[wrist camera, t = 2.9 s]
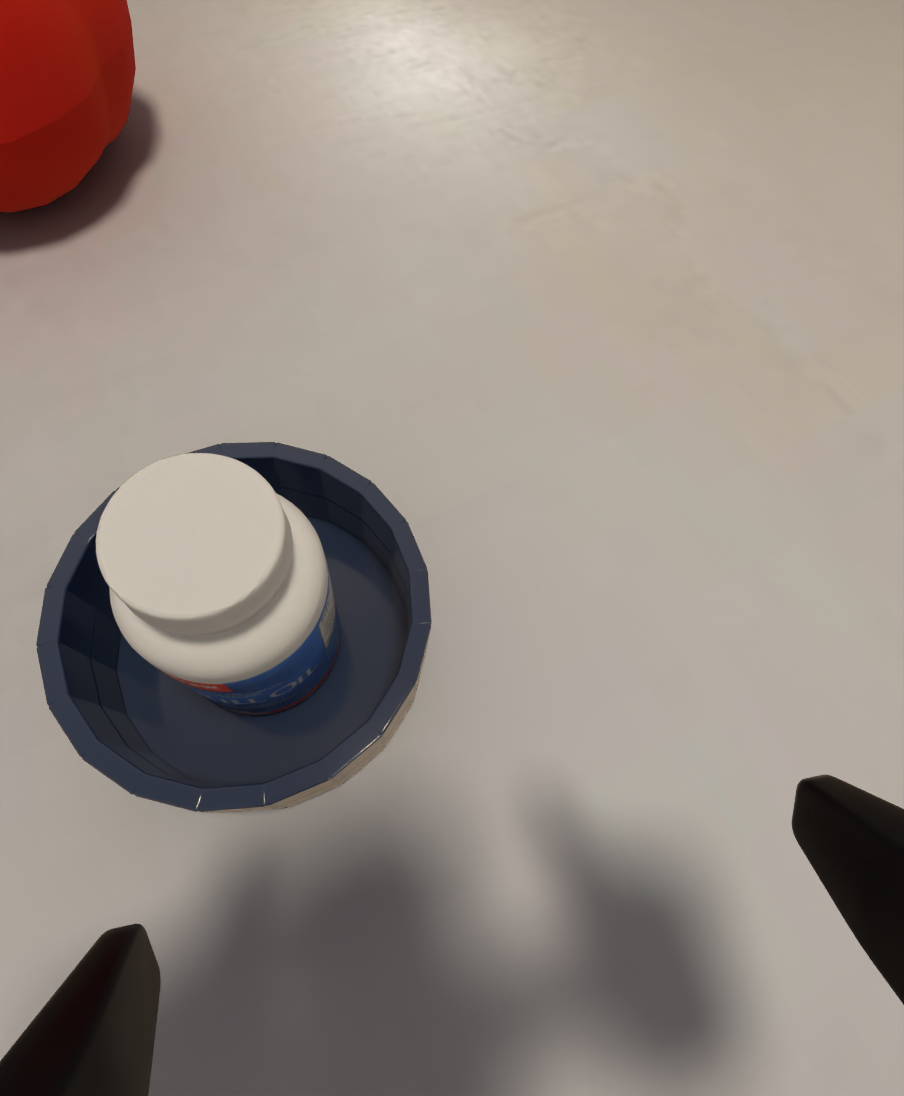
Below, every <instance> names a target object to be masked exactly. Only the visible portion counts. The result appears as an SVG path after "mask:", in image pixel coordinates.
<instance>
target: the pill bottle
mask: <svg viewBox="0 0 904 1096" xmlns="http://www.w3.org/2000/svg"><path fill="white" fill-rule="evenodd" d="M96 555H97V560H98V564H99V568H100V570H101V573H102V575H103V577H104V579H105V581H106V583H107V584H108V586H109V588H110V602H111V607H112V611H113V615H114V618H115V620H116V623H117V625H118V627H119V629H120V631H121V633H122V634H123V636H124V637H125V639H126V640H127V642H128V643H129V644H130V645H131V647H132V648H133V649H134V650H135V651H136V652H137V653H138V654H139V655H141V656H142V657H143V658H144V659H145V660H147V661H148V662H149V663H150V664H152V665H153V666H154V667H156V668H158V669H159V670H161V671H162V672H163V673H165V674H167V675H168V676H170V677H172V678H173V679H175V680H177V681H178V682H180V683H181V684H183V685H185V686H186V687H188V688H190V689H191V690H193V691H195V692H196V693H198V694H199V695H201V696H202V697H204V698H205V699H207V700H208V701H210V702H211V703H213V704H215V705H217V706H219V707H221V708H223V709H226V710H229V711H232V712H236V713H240V714H247V715H266V714H272V713H276V712H280V711H283V710H286V709H288V708H291V707H293V706H295V705H297V704H299V703H300V702H302V701H303V700H305V699H306V698H307V697H309V696H310V695H311V694H312V693H313V692H314V691H315V690H316V689H317V688H318V687H319V686H320V685H321V684H322V682H323V681H324V680H325V678H326V677H327V675H328V674H329V672H330V670H331V668H332V666H333V664H334V662H335V659H336V656H337V652H338V648H339V642H340V623H339V616H338V612H337V607H336V603H335V599H334V594H333V588H332V584H331V580H330V575H329V571H328V565H327V562H326V558H325V555H324V551H323V548H322V545H321V542H320V539H319V537H318V534H317V533H316V531H315V529H314V527H313V526H312V524H311V523H310V521H309V520H308V519H307V518H306V516H305V515H304V514H303V513H302V512H301V511H300V510H299V509H298V508H297V507H296V506H295V505H294V504H292V503H291V502H290V501H288V500H287V499H285V498H284V497H282V496H280V495H278V494H277V493H276V492H275V491H274V489H273V488H272V486H271V485H270V484H269V483H268V482H267V481H266V479H264V478H263V477H262V476H261V475H260V474H259V473H258V472H257V471H255V470H254V469H253V468H251V467H249V466H248V465H246V464H244V463H242V462H240V461H238V460H235V459H233V458H230V457H226V456H222V455H217V454H210V453H188V454H182V455H177V456H173V457H169V458H165V459H163V460H160V461H157V462H155V463H153V464H151V465H149V466H147V467H145V468H144V469H142V470H140V471H139V472H137V473H136V474H134V475H133V476H131V477H130V478H129V479H128V480H127V481H125V482H124V484H123V485H121V487H120V488H119V489H118V490H117V491H116V493H115V494H114V495H113V496H112V498H111V499H110V501H109V502H108V504H107V506H106V508H105V510H104V512H103V514H102V516H101V519H100V522H99V525H98V530H97V535H96Z"/></svg>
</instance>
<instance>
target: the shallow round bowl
mask: <svg viewBox="0 0 904 1096" xmlns="http://www.w3.org/2000/svg"><path fill="white" fill-rule="evenodd" d="M190 453H210V454H217V455H222V456H226V457H230V458H233V459H235V460H238V461H240V462H242V463H244V464H246V465H248V466H249V467H251V468H253V469H254V470H255V471H257V472H258V473H259V474H260V475H261V476H262V477H263V478H264V479H266V481H267V482H268V483H269V484H270V485H271V486H272V488H273V489H274V491H275V492H276V493H277V494H278V495H280V496H282V497H284V498H285V499H287V500H288V501H290V502H291V503H292V504H294V505H295V506H296V507H297V508H298V509H299V510H300V511H301V512H302V513H303V514H304V515H305V516H306V518H307V519H308V520H309V521H310V523H311V524H312V526H313V527H314V529H315V531H316V533H317V534H318V537H319V539H320V542H321V545H322V548H323V551H324V555H325V558H326V562H327V565H328V571H329V575H330V580H331V584H332V588H333V594H334V599H335V603H336V607H337V612H338V616H339V623H340V642H339V648H338V652H337V656H336V659H335V662H334V664H333V666H332V668H331V670H330V672H329V674H328V675H327V677H326V678H325V680H324V681H323V682H322V684H321V685H320V686H319V687H318V688H317V689H316V690H315V691H314V692H313V693H312V694H311V695H310V696H309V697H307V698H306V699H305V700H303V701H302V702H300V703H299V704H297V705H295V706H293V707H291V708H288V709H286V710H283V711H280V712H276V713H272V714H266V715H247V714H240V713H236V712H232V711H229V710H226V709H223V708H221V707H219V706H217V705H215V704H213V703H211V702H210V701H208V700H207V699H205V698H204V697H202V696H201V695H199V694H198V693H196V692H195V691H193V690H191V689H190V688H188V687H186V686H185V685H183V684H181V683H180V682H178V681H177V680H175V679H173V678H172V677H170V676H168V675H167V674H165V673H163V672H162V671H161V670H159V669H158V668H156V667H154V666H153V665H152V664H150V663H149V662H148V661H147V660H145V659H144V658H143V657H142V656H141V655H139V654H138V653H137V652H136V651H135V650H134V649H133V648H132V647H131V645H130V644H129V643H128V642H127V640H126V639H125V637H124V636H123V634H122V633H121V631H120V629H119V627H118V625H117V623H116V620H115V618H114V615H113V611H112V607H111V602H110V588H109V586H108V584H107V583H106V581H105V579H104V577H103V575H102V573H101V570H100V568H99V564H98V560H97V555H96V535H97V530H98V525H99V522H100V519H101V516H102V514H103V512H104V510H105V508H106V506H107V504H108V502H109V501H110V499H111V498H112V496H113V495H114V494H115V493H116V491H117V490H118V489H119V488H120V487H119V488H117V489H116V491H113V492H112V493H111V494H110V496H109V497H108V498H107V499H106V500H105V501H104V502H103V503H102V504H101V505H100V506H99V507H98V508H97V509H96V510H95V511H94V512H93V513H92V514H91V515H90V516H89V518H88V519H87V520H86V521H85V522H84V523H83V524H82V525H81V526H80V527H79V528H78V529H77V530H76V531H75V533H74V534H73V535H72V537H71V539H70V541H69V543H68V545H67V547H66V549H65V551H64V553H63V555H62V557H61V559H60V560H59V562H58V564H57V566H56V568H55V570H54V572H53V574H52V576H51V578H50V580H49V582H48V584H47V588H46V589H45V594H44V600H43V607H42V613H41V619H40V625H39V631H38V638H37V644H36V645H37V646H38V647H37V653H38V658H39V663H40V668H41V674H42V679H43V684H44V689H45V694H46V699H47V704H48V705H49V709H50V711H51V712H52V714H53V715H54V717H55V718H56V720H57V721H58V723H59V725H60V726H61V728H62V729H63V731H64V732H65V734H66V736H67V737H68V739H69V740H70V742H71V743H72V745H73V746H74V748H75V750H76V751H77V753H78V754H79V756H80V757H82V759H83V760H84V761H85V762H87V763H88V764H90V765H91V766H92V767H94V768H95V769H97V770H98V771H99V772H101V773H102V774H104V775H105V776H107V777H108V778H109V779H111V780H112V781H114V782H115V783H116V784H118V785H119V786H121V787H122V788H123V789H125V790H126V791H128V792H129V793H130V794H134V795H135V796H137V797H141V798H145V799H149V800H153V801H156V802H160V803H164V804H168V805H172V806H176V807H179V808H183V809H187V810H191V811H195V812H240V811H252V810H264V809H276V808H287V807H289V806H294V805H296V804H299V803H301V802H303V801H306V800H308V799H311V798H314V797H316V796H319V795H321V794H323V793H325V792H327V791H329V790H332V789H334V788H336V787H339V786H340V785H341V784H344V783H345V782H346V781H348V780H349V779H350V778H351V777H352V776H353V775H355V774H356V773H357V772H359V771H360V770H361V769H362V768H364V767H365V766H366V765H367V764H368V763H369V762H370V761H371V760H372V759H373V758H375V757H376V756H377V755H378V754H379V753H380V752H382V751H383V750H384V748H385V747H386V746H387V744H388V743H389V741H390V739H391V738H392V736H393V735H394V733H395V732H396V730H397V729H398V727H399V726H400V724H401V722H402V721H403V719H404V717H405V716H406V714H407V712H408V711H409V709H410V708H411V706H412V703H413V701H414V698H415V694H416V690H417V686H418V682H419V678H420V674H421V670H422V667H423V663H424V659H425V654H426V649H427V644H428V640H429V635H430V630H431V610H430V595H429V581H428V571H427V567H426V565H425V562H424V560H423V557H422V555H421V553H420V550H419V548H418V546H417V543H416V541H415V538H414V536H413V534H412V531H411V529H410V527H409V524H408V522H406V519H405V518H404V517H403V516H402V515H401V514H400V512H399V511H398V510H397V509H396V508H395V507H394V506H393V505H392V503H391V502H390V501H389V500H388V499H387V498H386V497H385V496H384V494H383V493H382V492H381V491H380V490H379V489H378V488H377V486H376V485H375V484H374V483H372V482H371V481H370V480H368V479H366V478H365V477H363V476H361V475H360V474H358V473H356V472H355V471H353V470H351V469H350V468H348V467H346V466H345V465H343V464H341V463H340V462H338V461H336V460H335V459H333V458H331V457H330V456H327V455H324V454H320V453H316V452H312V451H308V450H305V449H301V448H297V447H293V446H289V445H285V444H281V443H275V442H257V443H222V444H221V445H220V444H217V445H214V446H210V447H207V448H204V449H200V450H197V451H193V452H190ZM186 454H188V453H186Z"/></svg>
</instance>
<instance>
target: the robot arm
mask: <svg viewBox="0 0 904 1096" xmlns="http://www.w3.org/2000/svg"><path fill="white" fill-rule="evenodd" d="M792 829H793V833H794V836H795V838H796V840H797V842H798V844H799V845H800V847H801V849H802V850H803V852H804V854H805V855H806V857H807V858H808V860H809V862H810V863H811V865H812V867H813V868H814V870H815V872H816V873H817V875H818V877H819V878H820V880H821V882H822V883H823V885H824V886H825V888H826V890H827V891H828V893H829V895H830V896H831V898H832V900H833V901H834V903H835V905H836V906H837V908H838V910H839V911H840V913H841V914H842V916H843V918H844V919H845V921H846V923H847V924H848V926H849V928H850V929H851V931H852V932H853V934H854V935H855V937H856V938H857V940H858V942H859V943H860V945H861V946H862V948H863V949H864V950H865V952H866V953H867V955H868V956H869V958H870V959H871V960H872V962H873V963H874V965H875V966H876V967H877V969H878V970H879V972H880V973H881V974H882V976H883V977H884V978H885V980H886V981H887V982H888V984H889V985H890V987H891V988H892V989H893V991H894V992H895V993H896V995H897V996H898V998H899V999H900V1000H901V1002H902V1003H903V1004H904V809H902V808H900V807H898V806H896V805H894V804H892V803H889V802H887V801H885V800H883V799H881V798H879V797H876V796H874V795H872V794H870V793H868V792H866V791H864V790H861V789H859V788H857V787H855V786H853V785H851V784H848V783H846V782H844V781H842V780H840V779H838V778H836V777H833V776H830V775H820V776H815V777H810V778H806V779H803V780H801V781H800V782H799V784H798V785H797V790H796V796H795V803H794V809H793V816H792ZM160 980H161V979H160V970H159V966H158V963H157V960H156V957H155V954H154V952H153V949H152V946H151V944H150V941H149V938H148V935H147V933H146V930H145V928H144V927H143V926H142V925H140V924H132V925H128V926H123V927H118V928H114V929H110V930H108V931H106V932H105V933H104V934H103V935H101V937H100V938H99V939H98V940H97V941H96V943H95V944H94V945H93V946H92V947H91V949H90V950H89V951H88V952H87V954H86V955H85V956H84V957H83V959H82V960H81V961H80V962H79V964H78V965H77V966H76V967H75V969H74V970H73V971H72V972H71V974H70V975H69V976H68V977H67V979H66V980H65V981H64V982H63V984H62V985H61V986H60V987H59V989H58V990H57V991H56V992H55V994H54V995H53V996H52V997H51V999H50V1000H49V1001H48V1002H47V1004H46V1005H45V1006H44V1007H43V1009H42V1010H41V1011H40V1012H39V1014H38V1015H37V1016H36V1017H35V1019H34V1020H33V1021H32V1022H31V1024H30V1025H29V1026H28V1027H27V1029H26V1030H25V1031H24V1032H23V1033H22V1035H21V1036H20V1037H19V1038H18V1040H17V1041H16V1042H15V1043H14V1045H13V1046H12V1047H11V1048H10V1050H9V1051H8V1052H7V1053H6V1055H5V1056H4V1057H3V1058H2V1060H1V1061H0V1096H148V1093H149V1084H150V1075H151V1066H152V1058H153V1049H154V1040H155V1031H156V1022H157V1013H158V1004H159V995H160Z"/></svg>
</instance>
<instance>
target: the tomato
mask: <svg viewBox="0 0 904 1096" xmlns="http://www.w3.org/2000/svg"><path fill="white" fill-rule="evenodd" d="M135 69H136V68H135V58H134V47H133V37H132V26H131V19H130V15H129V10H128V5H127V0H0V212H8V213H13V212H17V211H22V210H26V209H31V208H35V207H39V206H44V205H48V204H49V203H51V202H52V201H54V200H56V199H57V198H59V197H60V196H62V195H64V194H65V193H67V192H69V191H70V190H72V189H73V188H75V187H76V186H77V185H78V184H79V182H80V181H81V180H82V179H83V178H84V176H85V175H86V174H87V173H88V171H89V170H90V169H91V168H92V167H93V165H94V164H95V163H96V162H97V161H98V159H99V158H100V157H101V154H102V152H103V150H104V147H106V146H107V145H108V144H110V143H111V142H112V141H114V140H115V139H116V138H117V137H118V135H119V134H120V132H121V130H122V129H123V127H124V125H125V124H126V122H127V118H128V114H129V109H130V104H131V98H132V91H133V83H134V76H135Z"/></svg>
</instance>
